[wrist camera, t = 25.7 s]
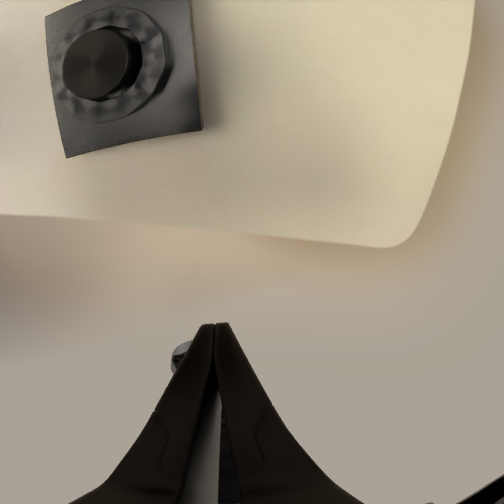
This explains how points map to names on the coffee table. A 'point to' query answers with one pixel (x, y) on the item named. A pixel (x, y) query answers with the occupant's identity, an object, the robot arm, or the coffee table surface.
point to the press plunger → (99, 63)
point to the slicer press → (142, 83)
